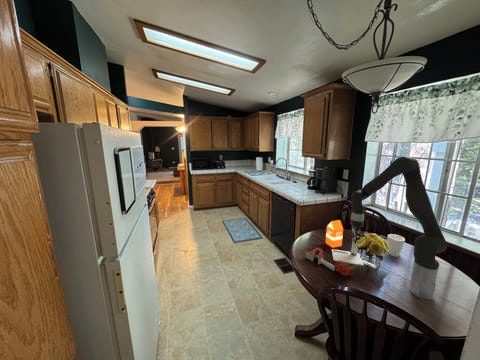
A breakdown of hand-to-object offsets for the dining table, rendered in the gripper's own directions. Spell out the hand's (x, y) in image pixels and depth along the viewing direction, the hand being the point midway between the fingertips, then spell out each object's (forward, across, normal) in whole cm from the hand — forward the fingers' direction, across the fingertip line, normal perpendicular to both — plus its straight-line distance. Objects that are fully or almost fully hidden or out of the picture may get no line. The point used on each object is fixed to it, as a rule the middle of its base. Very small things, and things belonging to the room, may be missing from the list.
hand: (355, 240), depth 137 cm
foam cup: (+12, +11, -27) cm, 31 cm away
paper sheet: (+12, -4, +5) cm, 13 cm away
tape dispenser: (+12, -14, +23) cm, 30 cm away
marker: (+11, 0, 0) cm, 11 cm away
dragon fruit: (+12, -23, +9) cm, 28 cm away
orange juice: (+11, +12, +12) cm, 21 cm away
